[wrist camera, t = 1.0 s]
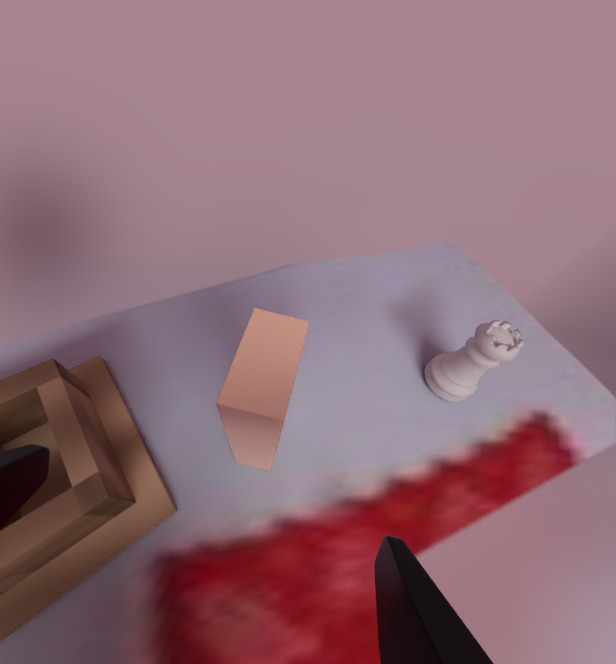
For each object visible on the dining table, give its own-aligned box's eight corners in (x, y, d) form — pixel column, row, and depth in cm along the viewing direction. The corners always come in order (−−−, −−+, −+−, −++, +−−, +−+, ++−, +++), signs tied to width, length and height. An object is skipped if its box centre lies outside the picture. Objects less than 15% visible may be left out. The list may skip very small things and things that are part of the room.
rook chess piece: (416, 359, 28) (465, 308, 21) (458, 359, 28) (518, 309, 22) (430, 404, 25) (491, 362, 19) (475, 403, 26) (550, 363, 19)
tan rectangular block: (270, 472, 21) (284, 420, 10) (236, 463, 21) (215, 403, 10) (286, 411, 23) (309, 321, 13) (255, 404, 23) (254, 307, 13)
